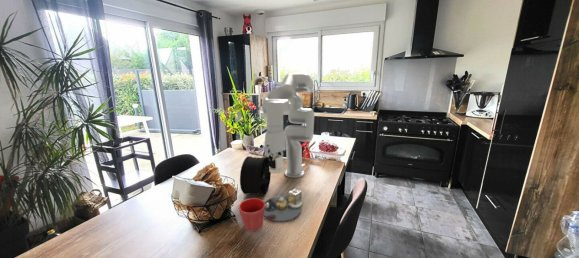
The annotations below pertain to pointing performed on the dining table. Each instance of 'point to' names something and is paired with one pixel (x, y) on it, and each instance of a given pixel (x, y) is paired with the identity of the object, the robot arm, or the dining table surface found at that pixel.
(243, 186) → the car wheel rim
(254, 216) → the flower pot
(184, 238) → the dining table surface
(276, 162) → the open ended square duct
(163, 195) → the dining table surface
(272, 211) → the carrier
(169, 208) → the dining table surface
